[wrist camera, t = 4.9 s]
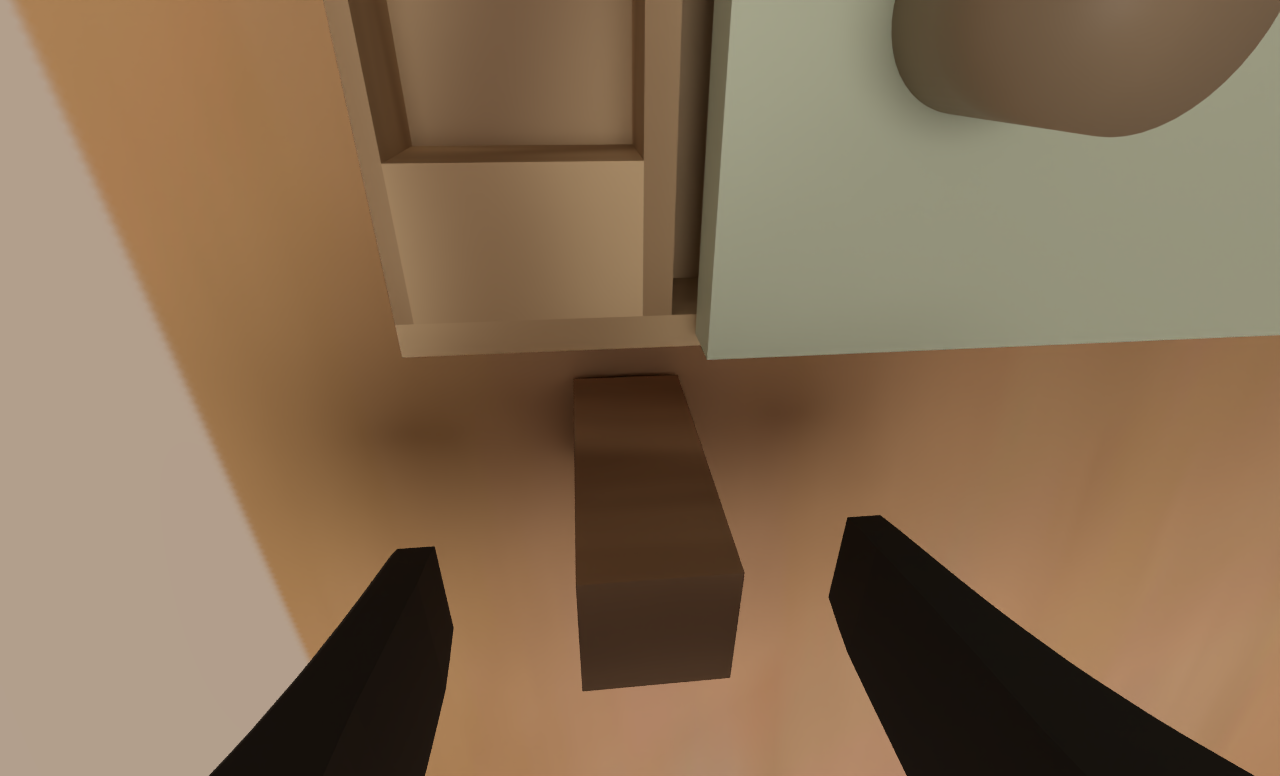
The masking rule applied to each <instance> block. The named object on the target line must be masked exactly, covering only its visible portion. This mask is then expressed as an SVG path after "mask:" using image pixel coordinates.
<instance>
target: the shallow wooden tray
mask: <svg viewBox="0 0 1280 776" xmlns="http://www.w3.org/2000/svg"><path fill="white" fill-rule="evenodd" d="M323 2H324V6H325V11H326V15H327V20H328V24H329V29H330V33H331V38H332V43H333V47H334V52H335V56H336V61H337V65H338V70H339V74H340V79H341V83H342V88H343V92H344V97H345V101H346V106H347V110H348V115H349V119H350V124H351V128H352V133H353V138H354V142H355V147H356V151H357V156H358V160H359V165H360V169H361V174H362V178H363V183H364V187H365V192H366V196H367V201H368V205H369V210H370V214H371V219H372V223H373V228H374V232H375V237H376V242H377V246H378V251H379V255H380V260H381V264H382V269H383V273H384V278H385V282H386V287H387V291H388V296H389V300H390V305H391V309H392V314H393V318H394V323H395V327H396V332H397V337H398V341H399V346H400V350H401V355H402V358H406V357H431V356H455V355H479V354H504V353H528V352H553V351H577V350H601V349H626V348H650V347H675V346H699V345H700V343H699V341H698V339H697V336H696V334H695V331H696V314H697V296H698V278H699V261H700V243H701V225H702V208H703V190H704V172H705V155H706V137H707V119H708V102H709V84H710V66H711V49H712V31H713V13H714V0H323Z"/></svg>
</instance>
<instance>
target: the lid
mask: <svg viewBox="0 0 1280 776" xmlns="http://www.w3.org/2000/svg"><path fill="white" fill-rule="evenodd" d="M695 334H696V336H697V339H698V341H699V343H700V345H701V347H702V350H703V352H704V354H705V356H706V359H707V360H716V359H739V358H762V357H785V356H808V355H831V354H854V353H877V352H900V351H923V350H946V349H970V348H993V347H1016V346H1039V345H1062V344H1085V343H1108V342H1131V341H1154V340H1177V339H1200V338H1223V337H1246V336H1270V335H1280V0H714V13H713V31H712V49H711V66H710V84H709V102H708V119H707V137H706V155H705V172H704V190H703V208H702V225H701V243H700V261H699V278H698V296H697V314H696V331H695Z"/></svg>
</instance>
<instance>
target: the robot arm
mask: <svg viewBox="0 0 1280 776" xmlns="http://www.w3.org/2000/svg"><path fill="white" fill-rule="evenodd" d="M829 600H830V603H831V606H832V609H833V612H834V615H835V618H836V621H837V624H838V627H839V630H840V633H841V636H842V638H843V641H844V644H845V647H846V650H847V652H848V654H849V657H850V659H851V661H852V663H853V665H854V667H855V670H856V672H857V674H858V676H859V678H860V680H861V682H862V684H863V686H864V688H865V691H866V693H867V695H868V697H869V699H870V701H871V703H872V705H873V707H874V709H875V711H876V713H877V715H878V717H879V719H880V722H881V724H882V726H883V728H884V730H885V732H886V734H887V736H888V738H889V740H890V742H891V744H892V746H893V748H894V750H895V752H896V755H897V757H898V759H899V761H900V763H901V765H902V767H903V769H904V771H905V773H906V775H907V776H1254V775H1252V774H1250V773H1249V772H1247V771H1245V770H1243V769H1242V768H1240V767H1238V766H1236V765H1235V764H1233V763H1231V762H1230V761H1228V760H1226V759H1224V758H1223V757H1221V756H1219V755H1217V754H1216V753H1214V752H1212V751H1210V750H1209V749H1207V748H1205V747H1204V746H1202V745H1200V744H1198V743H1197V742H1195V741H1193V740H1191V739H1190V738H1188V737H1186V736H1185V735H1183V734H1181V733H1179V732H1178V731H1176V730H1175V729H1173V728H1171V727H1170V726H1168V725H1166V724H1165V723H1163V722H1161V721H1160V720H1158V719H1156V718H1155V717H1153V716H1152V715H1150V714H1148V713H1147V712H1145V711H1144V710H1142V709H1140V708H1139V707H1137V706H1136V705H1134V704H1133V703H1131V702H1130V701H1128V700H1127V699H1125V698H1123V697H1122V696H1120V695H1119V694H1117V693H1116V692H1114V691H1113V690H1111V689H1109V688H1108V687H1106V686H1105V685H1103V684H1102V683H1100V682H1099V681H1097V680H1096V679H1094V678H1092V677H1091V676H1090V675H1088V674H1087V673H1085V672H1084V671H1082V670H1081V669H1079V668H1078V667H1076V666H1075V665H1073V664H1072V663H1070V662H1069V661H1068V660H1066V659H1065V658H1063V657H1062V656H1061V655H1059V654H1058V653H1056V652H1055V651H1054V650H1052V649H1051V648H1049V647H1048V646H1047V645H1045V644H1044V643H1043V642H1041V641H1040V640H1038V639H1037V638H1036V637H1034V636H1033V635H1031V634H1030V633H1029V632H1027V631H1026V630H1024V629H1023V628H1022V627H1020V626H1019V625H1018V624H1016V623H1015V622H1014V621H1013V620H1011V619H1010V618H1009V617H1007V616H1006V615H1005V614H1003V613H1002V612H1001V611H999V610H998V609H997V608H995V607H994V606H993V605H992V604H990V603H989V602H988V601H986V600H985V599H984V598H983V597H981V596H980V595H979V594H977V593H976V592H975V591H974V590H972V589H971V588H970V587H969V586H967V585H966V584H965V583H964V582H962V581H961V580H960V579H959V578H957V577H956V576H955V575H954V574H952V573H951V572H950V571H949V570H947V569H946V568H945V567H944V566H943V565H941V564H940V563H939V562H938V561H936V560H935V559H934V558H933V557H932V556H930V555H929V554H928V553H927V552H925V551H924V550H923V549H922V548H921V547H919V546H918V545H917V544H916V543H914V542H913V541H912V540H911V539H910V538H908V537H907V536H906V535H905V534H903V533H902V532H901V531H900V530H898V529H897V528H896V527H895V526H893V525H892V524H891V523H890V522H888V521H887V520H886V519H885V518H883V517H882V516H881V515H875V516H861V517H847V522H846V526H845V530H844V534H843V538H842V542H841V547H840V551H839V555H838V559H837V563H836V568H835V572H834V576H833V580H832V584H831V588H830V593H829ZM452 636H453V624H452V619H451V615H450V611H449V607H448V602H447V598H446V594H445V589H444V585H443V581H442V576H441V572H440V568H439V563H438V559H437V555H436V550H435V546H434V547H420V548H406V549H397V550H396V551H395V552H394V553H393V554H392V555H391V556H390V558H389V559H388V560H387V562H386V563H385V564H384V566H383V567H382V568H381V570H380V571H379V573H378V574H377V575H376V577H375V578H374V579H373V581H372V582H371V583H370V585H369V586H368V587H367V589H366V590H365V592H364V593H363V594H362V596H361V597H360V598H359V600H358V601H357V602H356V604H355V605H354V606H353V607H352V609H351V610H350V611H349V613H348V614H347V615H346V617H345V618H344V619H343V621H342V622H341V623H340V624H339V626H338V627H337V628H336V629H335V631H334V632H333V633H332V635H331V636H330V637H329V638H328V640H327V641H326V642H325V643H324V645H323V646H322V647H321V648H320V650H319V651H318V652H317V653H316V655H315V656H314V657H313V658H312V660H311V661H310V662H309V663H308V665H307V666H306V667H305V668H304V669H303V671H302V672H301V673H300V674H299V676H298V677H297V678H296V679H295V680H294V681H293V683H292V684H291V685H290V686H289V687H288V688H287V690H286V691H285V692H284V693H283V694H282V695H281V696H280V698H279V699H278V700H277V701H276V702H275V703H274V705H273V706H272V707H271V708H270V709H269V710H268V711H267V713H266V714H265V715H264V716H263V717H262V719H261V720H260V721H259V722H258V723H257V724H256V725H255V726H254V728H253V729H252V730H251V731H250V732H249V733H248V734H247V735H246V736H245V738H244V739H243V740H242V741H241V742H240V743H239V744H238V745H237V746H236V747H235V748H234V750H233V751H232V752H231V753H230V754H229V755H228V756H227V757H226V758H225V759H224V760H223V761H222V762H221V763H220V764H219V766H218V767H217V768H216V769H215V770H214V771H213V772H212V773H211V774H210V775H209V776H425V773H426V769H427V765H428V761H429V757H430V753H431V749H432V745H433V741H434V736H435V732H436V728H437V724H438V720H439V716H440V711H441V707H442V703H443V699H444V694H445V690H446V683H447V676H448V668H449V661H450V653H451V645H452Z"/></svg>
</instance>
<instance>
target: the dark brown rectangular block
mask: <svg viewBox="0 0 1280 776" xmlns="http://www.w3.org/2000/svg"><path fill="white" fill-rule="evenodd" d="M574 463H575V552H576V596H577V612H578V628H579V644H580V660H581V676H582V691H591V690H602V689H613V688H624V687H635V686H646V685H657V684H668V683H678V682H689V681H700V680H711V679H722V678H730V674H731V667H732V660H733V653H734V645H735V638H736V631H737V624H738V617H739V609H740V602H741V595H742V588H743V581H744V570H743V567H742V564H741V561H740V558H739V555H738V552H737V549H736V546H735V543H734V540H733V537H732V534H731V531H730V529H729V526H728V523H727V520H726V517H725V514H724V511H723V508H722V505H721V502H720V499H719V496H718V493H717V490H716V487H715V484H714V481H713V478H712V475H711V472H710V470H709V467H708V464H707V461H706V458H705V455H704V452H703V449H702V446H701V443H700V440H699V437H698V434H697V431H696V428H695V425H694V422H693V419H692V416H691V413H690V411H689V408H688V405H687V402H686V399H685V396H684V393H683V390H682V387H681V384H680V381H679V378H678V375H665V376H640V377H616V378H591V379H574Z"/></svg>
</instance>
